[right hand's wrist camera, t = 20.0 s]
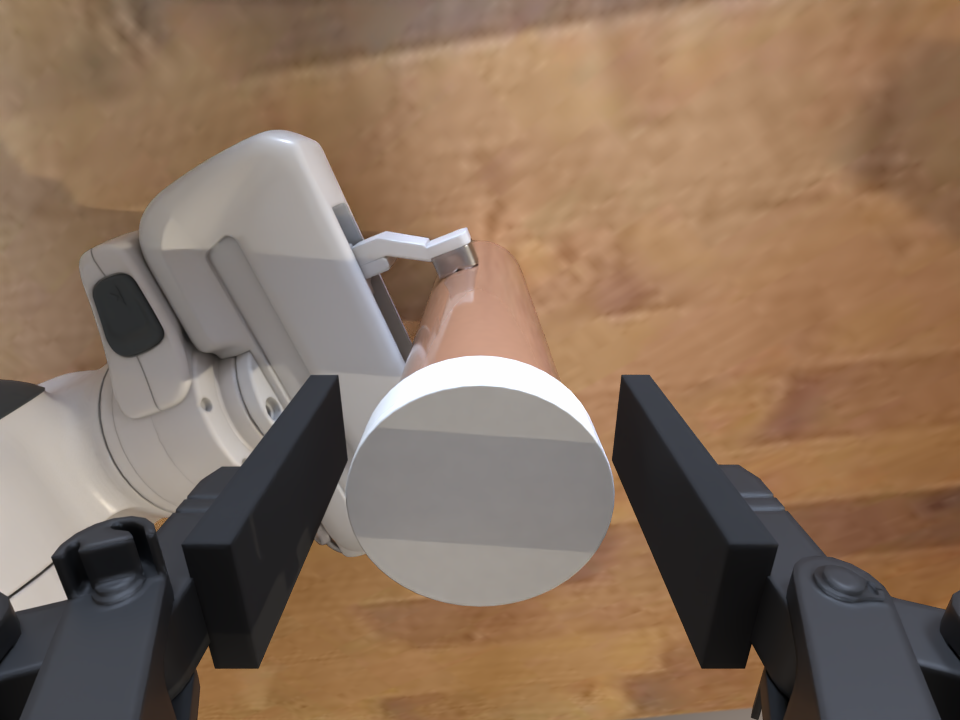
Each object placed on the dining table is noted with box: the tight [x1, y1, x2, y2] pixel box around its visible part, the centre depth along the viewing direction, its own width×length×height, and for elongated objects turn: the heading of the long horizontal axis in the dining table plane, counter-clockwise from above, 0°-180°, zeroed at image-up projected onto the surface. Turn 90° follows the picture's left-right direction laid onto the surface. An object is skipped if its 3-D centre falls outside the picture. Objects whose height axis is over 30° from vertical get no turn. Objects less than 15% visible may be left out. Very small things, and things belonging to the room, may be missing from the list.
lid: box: [346, 356, 615, 606], centre depth 12 cm, size 6×6×2 cm
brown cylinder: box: [399, 241, 561, 383], centre depth 20 cm, size 5×5×19 cm
